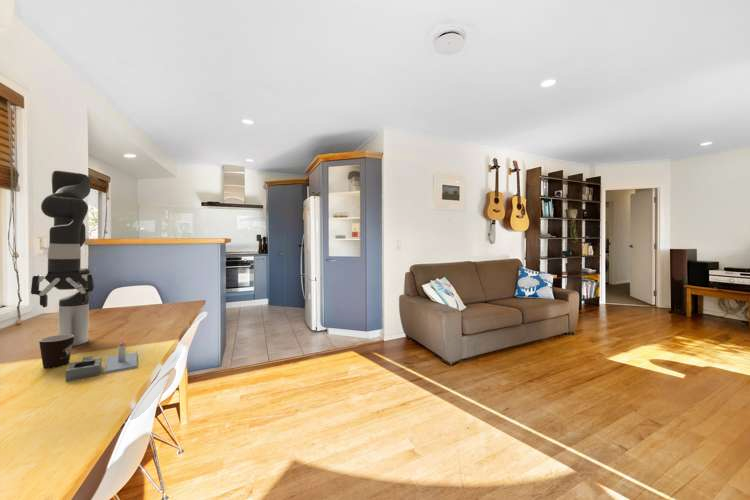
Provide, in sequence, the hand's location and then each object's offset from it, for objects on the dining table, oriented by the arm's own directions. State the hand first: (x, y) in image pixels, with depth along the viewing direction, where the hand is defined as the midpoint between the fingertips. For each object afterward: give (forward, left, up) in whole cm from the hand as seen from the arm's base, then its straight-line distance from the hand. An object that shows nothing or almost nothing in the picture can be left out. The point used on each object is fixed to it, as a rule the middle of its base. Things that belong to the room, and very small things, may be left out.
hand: (63, 305), depth 98 cm
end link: (-2, +5, -24) cm, 25 cm away
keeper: (-4, +15, -24) cm, 29 cm away
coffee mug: (-15, -2, -24) cm, 29 cm away
